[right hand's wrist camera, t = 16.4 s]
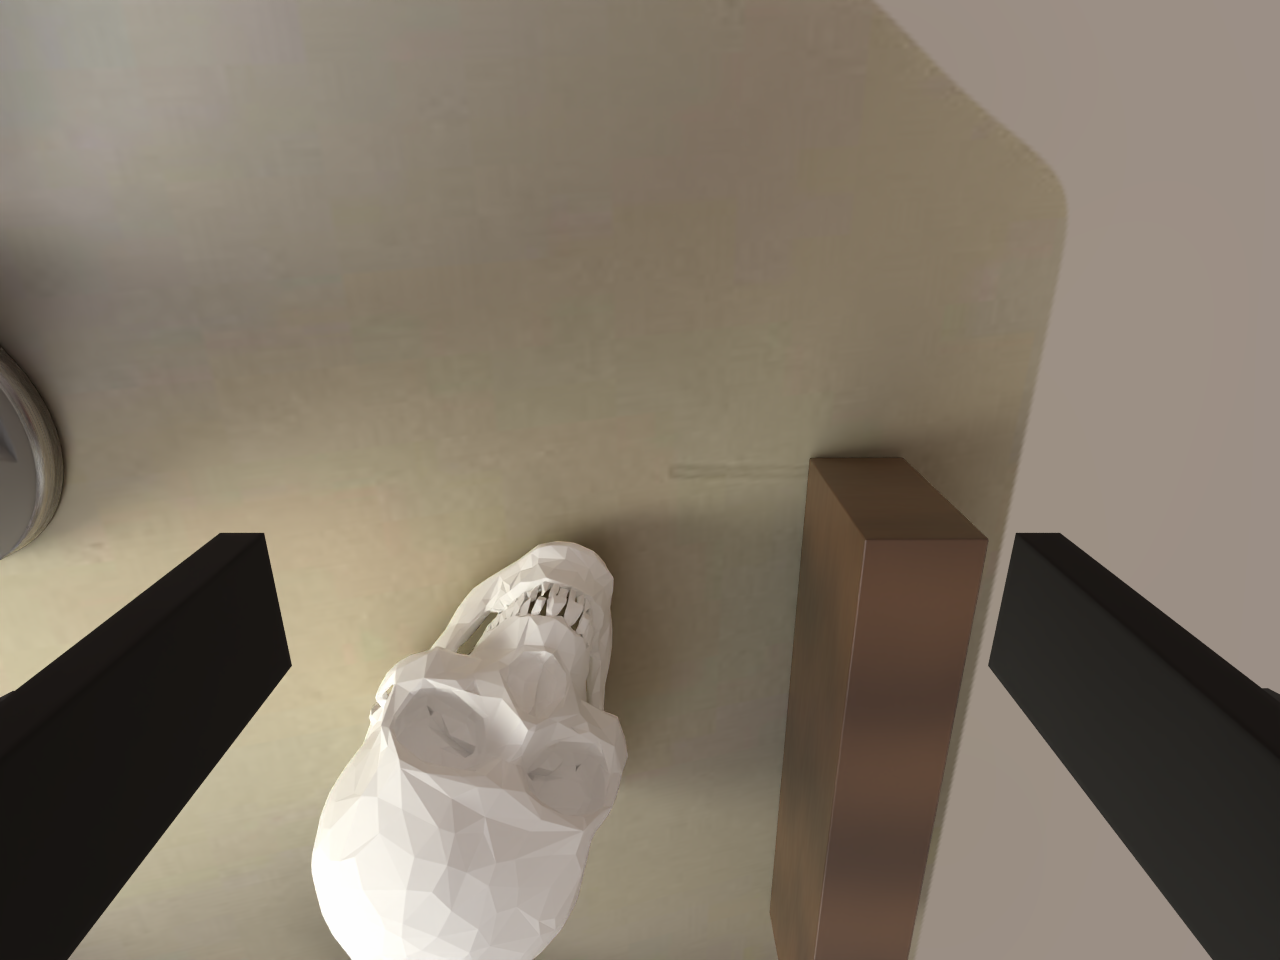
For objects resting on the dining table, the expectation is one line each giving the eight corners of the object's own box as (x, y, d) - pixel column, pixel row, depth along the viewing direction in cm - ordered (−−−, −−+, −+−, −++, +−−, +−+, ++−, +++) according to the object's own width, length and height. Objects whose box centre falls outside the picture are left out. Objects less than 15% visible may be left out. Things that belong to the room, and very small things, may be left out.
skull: (686, 565, 40) (699, 772, 25) (556, 837, 47) (506, 1123, 32) (460, 480, 38) (333, 645, 24) (363, 774, 46) (218, 1041, 31)
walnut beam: (840, 912, 50) (886, 1074, 41) (769, 912, 50) (799, 1074, 41) (903, 457, 38) (989, 539, 28) (809, 457, 38) (865, 539, 28)
